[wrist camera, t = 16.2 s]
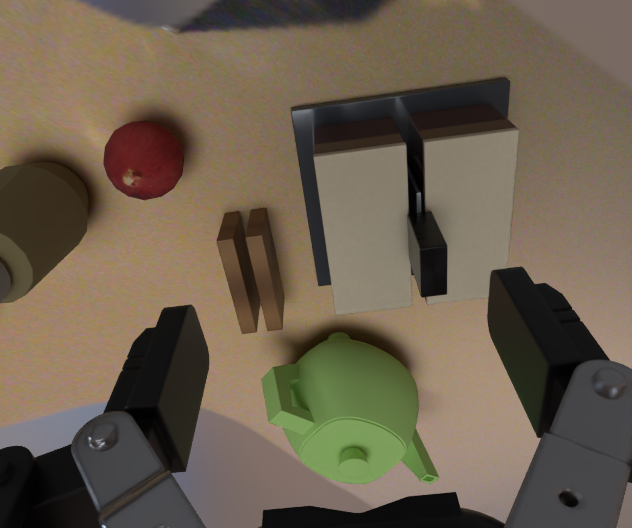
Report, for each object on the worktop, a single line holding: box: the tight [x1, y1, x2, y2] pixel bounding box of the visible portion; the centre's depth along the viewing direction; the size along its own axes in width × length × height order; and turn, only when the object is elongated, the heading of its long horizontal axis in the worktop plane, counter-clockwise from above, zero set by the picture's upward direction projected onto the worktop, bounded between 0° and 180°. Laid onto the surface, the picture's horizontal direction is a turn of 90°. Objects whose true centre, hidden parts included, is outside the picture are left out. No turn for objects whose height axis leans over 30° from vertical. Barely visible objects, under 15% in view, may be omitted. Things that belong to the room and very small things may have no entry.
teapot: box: [261, 332, 439, 484], centre depth 51 cm, size 20×13×13 cm
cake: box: [291, 78, 519, 315], centre depth 42 cm, size 17×17×8 cm
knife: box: [407, 164, 448, 297], centre depth 39 cm, size 7×2×12 cm, turn 8°
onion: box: [103, 121, 184, 200], centre depth 39 cm, size 6×6×8 cm
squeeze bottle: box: [0, 162, 89, 303], centre depth 37 cm, size 8×8×18 cm
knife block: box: [217, 208, 284, 334], centre depth 46 cm, size 10×4×5 cm, turn 7°
